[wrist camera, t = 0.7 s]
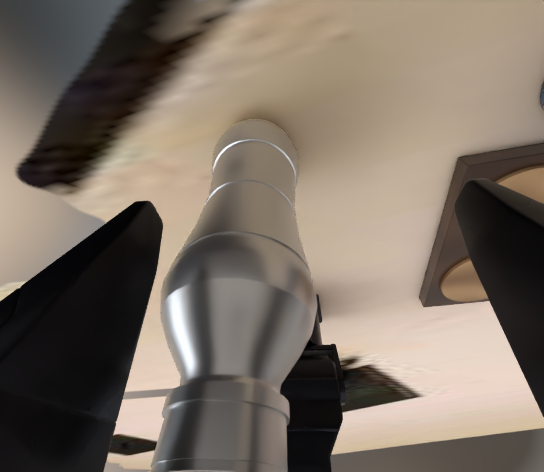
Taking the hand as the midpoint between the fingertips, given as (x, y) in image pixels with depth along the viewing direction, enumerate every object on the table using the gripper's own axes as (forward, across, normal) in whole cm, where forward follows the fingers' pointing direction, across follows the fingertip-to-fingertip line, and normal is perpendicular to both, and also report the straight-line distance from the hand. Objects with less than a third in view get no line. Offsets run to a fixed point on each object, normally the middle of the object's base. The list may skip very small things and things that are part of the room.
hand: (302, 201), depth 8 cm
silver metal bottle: (+14, +3, +6) cm, 16 cm away
